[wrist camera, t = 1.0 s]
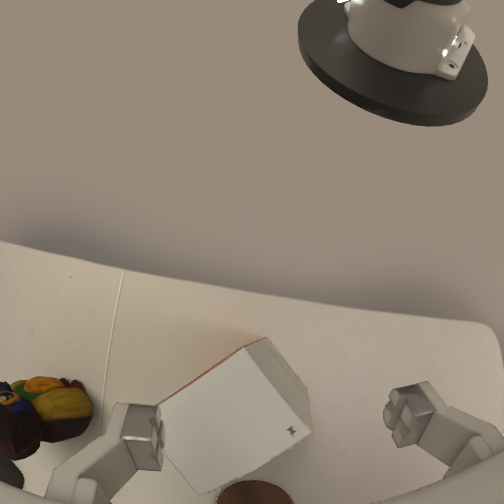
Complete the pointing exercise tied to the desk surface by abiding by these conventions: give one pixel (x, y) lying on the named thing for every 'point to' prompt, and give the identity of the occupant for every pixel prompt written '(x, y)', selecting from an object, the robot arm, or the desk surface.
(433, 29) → the robot arm
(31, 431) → the figurine
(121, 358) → the desk surface
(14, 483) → the computer mouse
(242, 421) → the small box
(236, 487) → the coaster
